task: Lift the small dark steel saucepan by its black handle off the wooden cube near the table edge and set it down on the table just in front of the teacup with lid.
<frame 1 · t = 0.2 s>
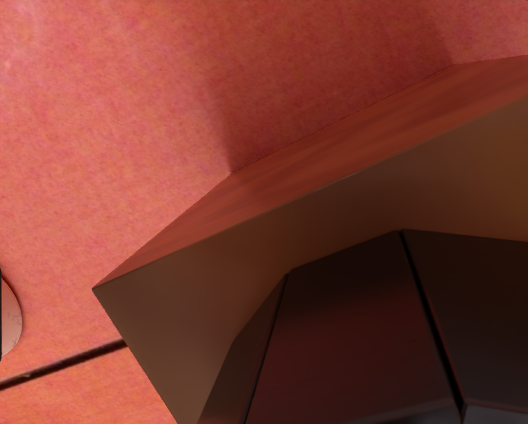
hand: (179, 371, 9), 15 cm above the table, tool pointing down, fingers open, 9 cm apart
wooden cube: (380, 227, 23), on the table
pan: (424, 421, 10), point 14 cm above the table, touching wooden cube
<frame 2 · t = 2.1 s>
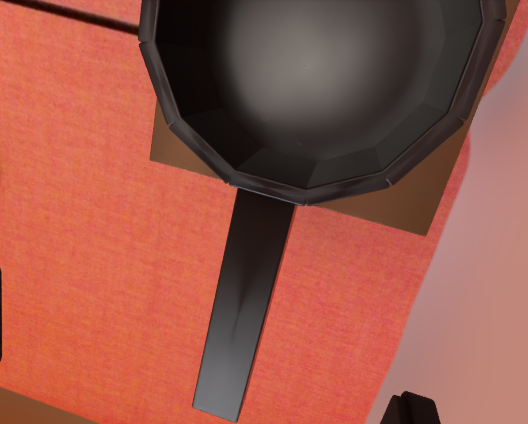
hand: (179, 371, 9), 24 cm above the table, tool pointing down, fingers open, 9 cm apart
wooden cube: (334, 59, 29), on the table
pan: (319, 44, 16), point 14 cm above the table, touching wooden cube
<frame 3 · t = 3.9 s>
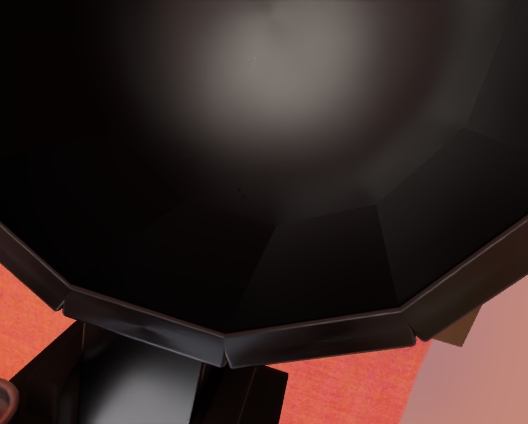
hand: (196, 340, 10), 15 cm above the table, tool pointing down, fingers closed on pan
wooden cube: (319, 54, 22), on the table
pan: (275, 20, 9), point 14 cm above the table, touching gripper, wooden cube
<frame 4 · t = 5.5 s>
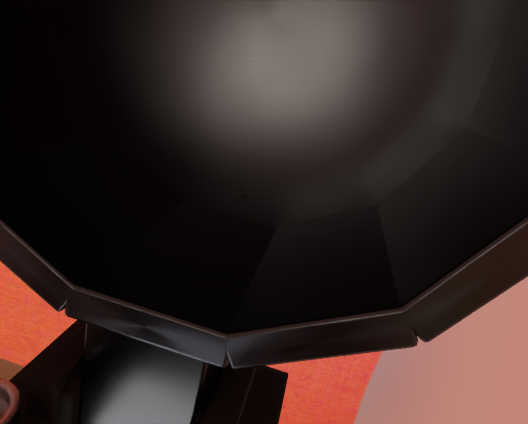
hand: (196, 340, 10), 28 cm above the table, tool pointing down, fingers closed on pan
pan: (276, 21, 9), point 27 cm above the table, touching gripper
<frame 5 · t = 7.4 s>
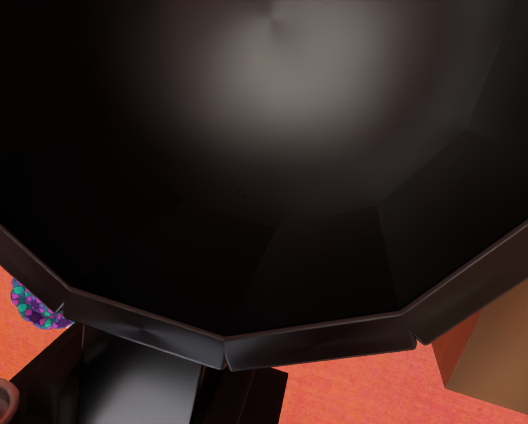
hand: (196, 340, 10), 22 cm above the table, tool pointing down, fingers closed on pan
pudding: (80, 272, 38), on the table
pan: (275, 22, 9), point 20 cm above the table, touching gripper
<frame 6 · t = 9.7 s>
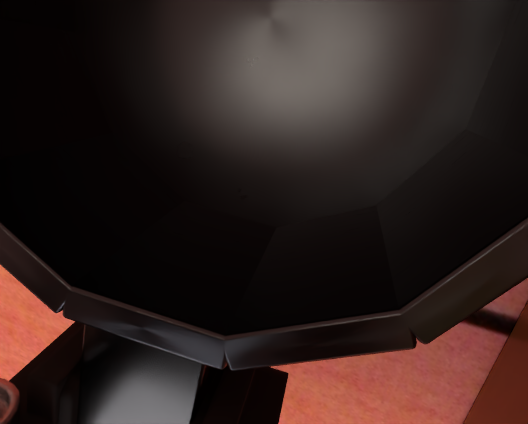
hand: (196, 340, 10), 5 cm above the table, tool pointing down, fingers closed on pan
pan: (276, 22, 9), point 4 cm above the table, touching gripper
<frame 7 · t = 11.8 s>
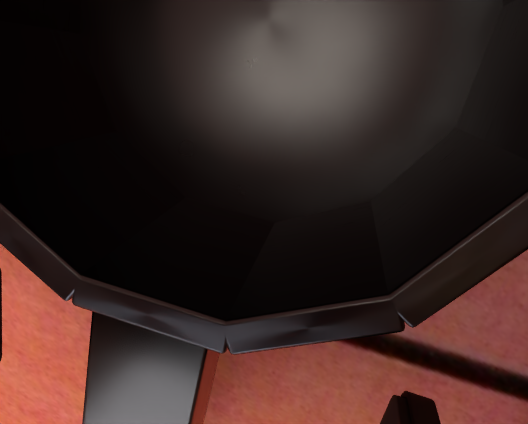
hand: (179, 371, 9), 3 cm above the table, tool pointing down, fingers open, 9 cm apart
pan: (274, 24, 9), on the table
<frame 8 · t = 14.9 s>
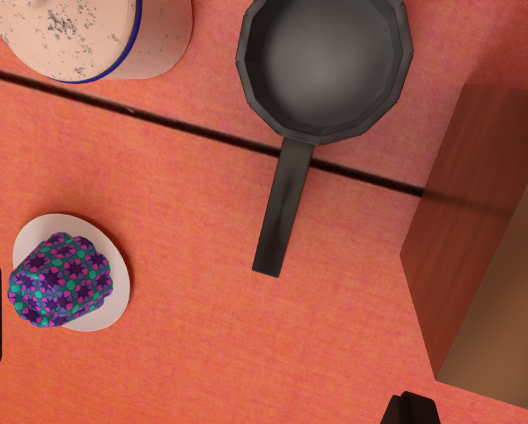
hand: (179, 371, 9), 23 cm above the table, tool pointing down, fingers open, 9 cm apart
wooden cube: (521, 200, 29), on the table
pudding: (76, 270, 38), on the table
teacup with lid: (122, 14, 30), on the table
pan: (325, 60, 28), on the table
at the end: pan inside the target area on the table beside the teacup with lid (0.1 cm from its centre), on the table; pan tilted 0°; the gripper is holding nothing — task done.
